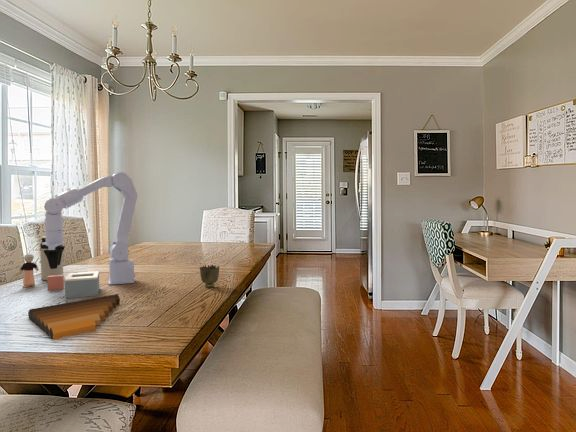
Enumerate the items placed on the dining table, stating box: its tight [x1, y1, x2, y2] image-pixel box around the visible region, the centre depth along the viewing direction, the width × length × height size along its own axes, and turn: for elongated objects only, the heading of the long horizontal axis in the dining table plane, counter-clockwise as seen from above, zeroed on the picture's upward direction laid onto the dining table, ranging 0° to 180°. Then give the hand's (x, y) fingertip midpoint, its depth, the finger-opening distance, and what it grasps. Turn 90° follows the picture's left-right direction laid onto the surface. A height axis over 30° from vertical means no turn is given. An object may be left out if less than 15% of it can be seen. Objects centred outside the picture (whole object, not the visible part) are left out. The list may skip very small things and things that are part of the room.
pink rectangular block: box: [46, 274, 65, 291], centre depth 152 cm, size 5×3×5 cm, turn 112°
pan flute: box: [27, 293, 121, 340], centre depth 117 cm, size 25×3×25 cm
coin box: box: [64, 270, 100, 299], centre depth 146 cm, size 10×12×6 cm
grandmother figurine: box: [18, 253, 40, 288], centre depth 157 cm, size 8×4×13 cm, turn 168°
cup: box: [199, 264, 220, 289], centre depth 155 cm, size 8×7×8 cm
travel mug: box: [39, 235, 64, 281], centre depth 170 cm, size 8×8×18 cm
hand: (55, 266), depth 152 cm, fingers open, 7 cm apart
